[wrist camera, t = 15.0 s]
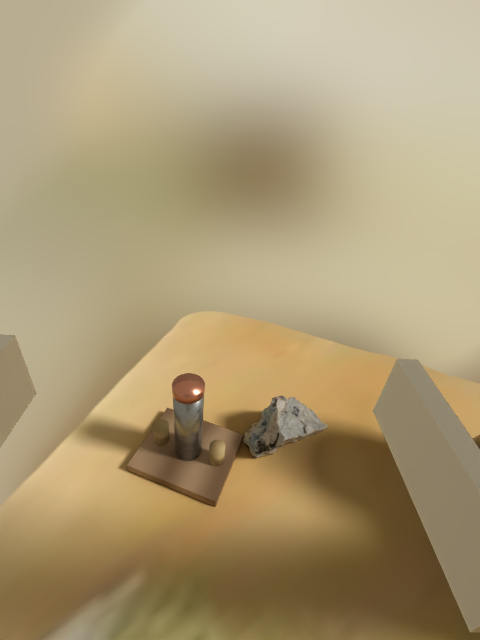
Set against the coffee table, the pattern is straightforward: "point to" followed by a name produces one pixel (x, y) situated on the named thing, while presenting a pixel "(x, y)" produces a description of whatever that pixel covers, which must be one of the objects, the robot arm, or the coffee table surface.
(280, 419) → the mineral specimen
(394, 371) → the robot arm
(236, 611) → the coffee table surface
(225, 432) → the peg rack
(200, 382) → the pin
